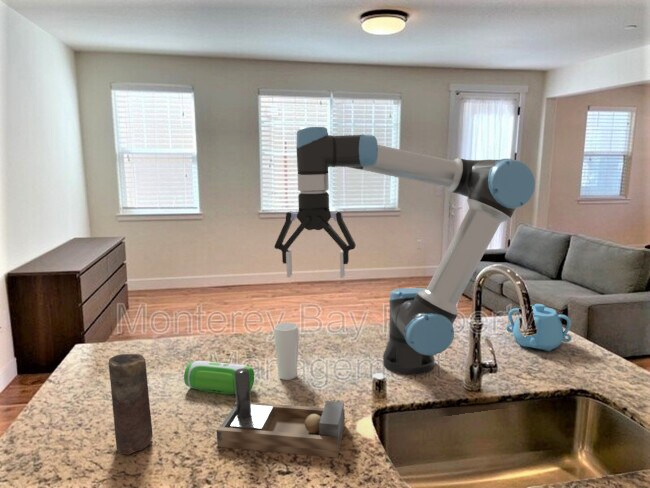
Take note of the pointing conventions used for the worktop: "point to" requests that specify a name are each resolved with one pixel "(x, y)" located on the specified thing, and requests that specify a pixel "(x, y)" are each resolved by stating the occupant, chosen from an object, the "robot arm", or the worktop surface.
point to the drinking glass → (286, 349)
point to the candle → (130, 402)
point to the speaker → (214, 376)
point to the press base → (289, 431)
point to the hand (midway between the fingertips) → (315, 276)
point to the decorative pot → (542, 329)
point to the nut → (312, 423)
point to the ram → (249, 406)
